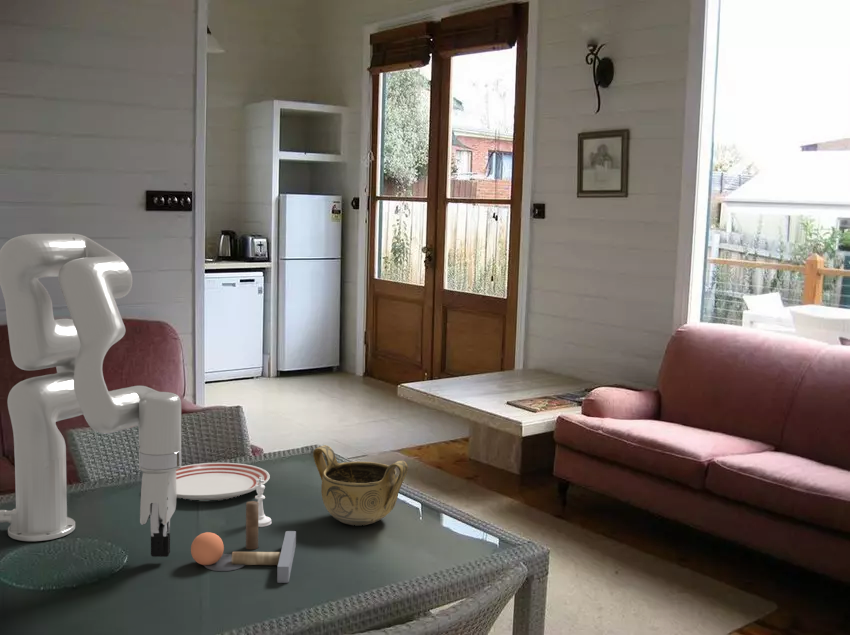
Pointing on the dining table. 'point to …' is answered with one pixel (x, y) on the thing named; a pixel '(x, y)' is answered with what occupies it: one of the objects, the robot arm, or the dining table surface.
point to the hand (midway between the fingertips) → (160, 554)
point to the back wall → (286, 557)
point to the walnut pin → (252, 525)
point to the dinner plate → (217, 480)
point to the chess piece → (261, 505)
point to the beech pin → (256, 558)
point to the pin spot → (224, 564)
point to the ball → (207, 548)
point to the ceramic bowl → (358, 487)
